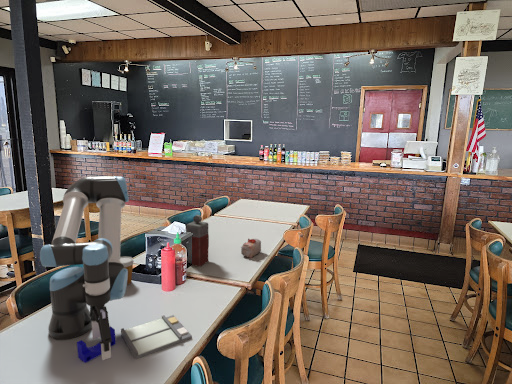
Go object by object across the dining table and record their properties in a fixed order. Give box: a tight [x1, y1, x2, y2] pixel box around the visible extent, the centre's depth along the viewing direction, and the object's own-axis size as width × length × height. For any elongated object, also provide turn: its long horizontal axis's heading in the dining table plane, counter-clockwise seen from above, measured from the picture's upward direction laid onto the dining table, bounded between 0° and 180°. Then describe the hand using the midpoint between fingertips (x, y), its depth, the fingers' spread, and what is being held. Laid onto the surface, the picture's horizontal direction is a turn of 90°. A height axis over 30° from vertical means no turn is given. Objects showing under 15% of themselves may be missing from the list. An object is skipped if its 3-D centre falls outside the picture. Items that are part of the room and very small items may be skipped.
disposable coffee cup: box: [120, 256, 135, 285], centre depth 172 cm, size 10×10×12 cm
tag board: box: [120, 314, 193, 360], centre depth 131 cm, size 17×21×2 cm
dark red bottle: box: [185, 214, 210, 267], centre depth 198 cm, size 9×11×28 cm
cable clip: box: [76, 325, 117, 364], centre depth 121 cm, size 12×4×6 cm, turn 142°
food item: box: [240, 238, 262, 259], centre depth 213 cm, size 14×8×10 cm, turn 152°
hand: (101, 347), depth 120 cm, fingers open, 13 cm apart
